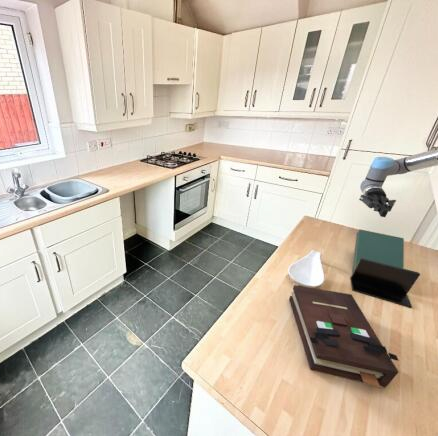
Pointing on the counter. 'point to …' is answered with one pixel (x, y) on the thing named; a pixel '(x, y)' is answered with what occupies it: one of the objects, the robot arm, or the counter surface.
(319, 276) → the spoon rest
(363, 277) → the bookend
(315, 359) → the decorative book
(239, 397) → the counter surface
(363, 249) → the book
